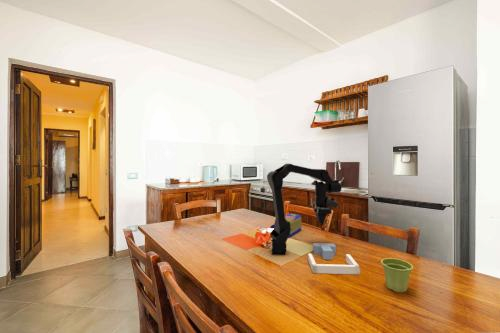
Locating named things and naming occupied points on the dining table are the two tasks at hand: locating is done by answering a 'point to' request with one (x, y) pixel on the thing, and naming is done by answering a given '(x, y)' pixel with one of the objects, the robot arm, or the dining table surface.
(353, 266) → the u-shaped frame
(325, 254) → the t block
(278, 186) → the robot arm
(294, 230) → the blue and olive box
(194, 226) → the dining table surface
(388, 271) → the plant pot
